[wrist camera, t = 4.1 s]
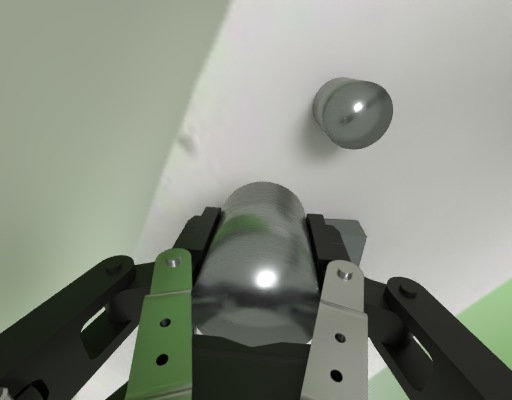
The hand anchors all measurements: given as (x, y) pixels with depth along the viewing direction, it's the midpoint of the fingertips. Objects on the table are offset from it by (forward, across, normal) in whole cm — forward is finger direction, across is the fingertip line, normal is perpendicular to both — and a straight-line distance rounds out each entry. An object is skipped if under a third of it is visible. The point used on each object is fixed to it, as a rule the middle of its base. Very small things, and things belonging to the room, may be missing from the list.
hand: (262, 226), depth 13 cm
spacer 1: (+1, 0, 0) cm, 1 cm away
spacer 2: (+13, -6, -5) cm, 15 cm away
